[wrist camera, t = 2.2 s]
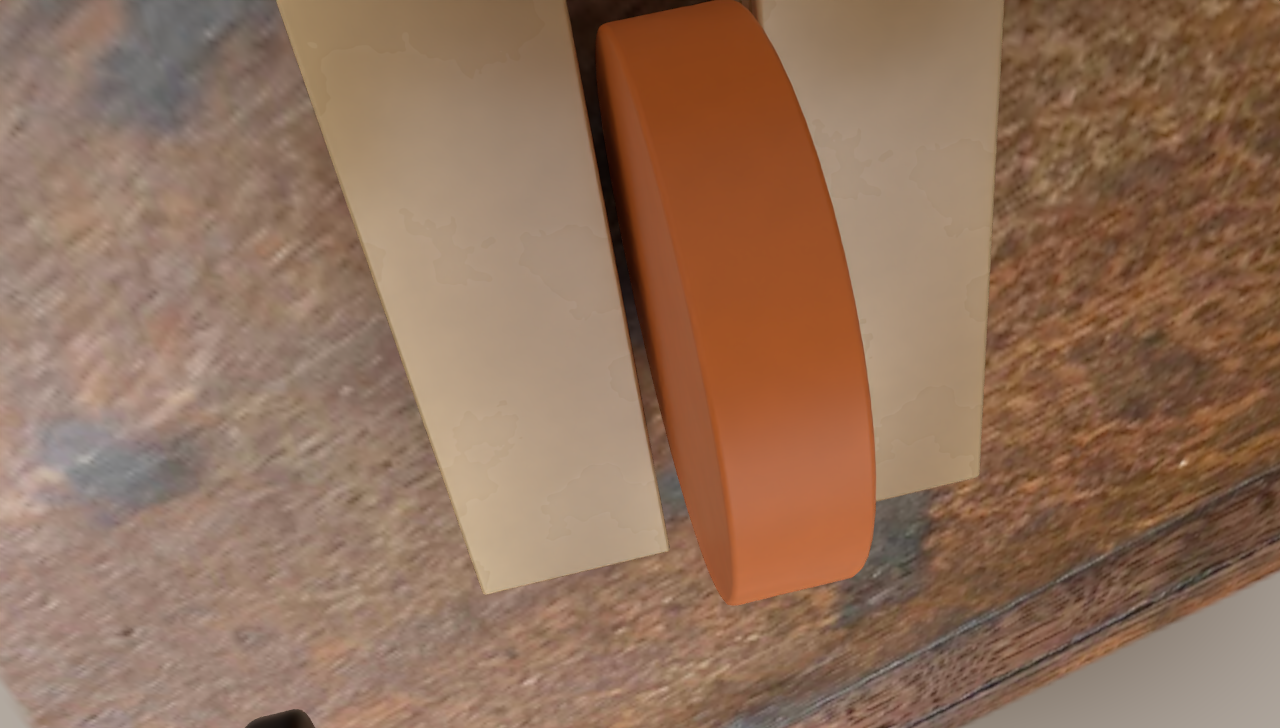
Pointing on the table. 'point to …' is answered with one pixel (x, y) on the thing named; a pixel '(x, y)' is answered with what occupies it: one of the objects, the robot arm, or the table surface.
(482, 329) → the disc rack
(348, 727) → the table surface
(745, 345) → the disc
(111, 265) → the table surface
